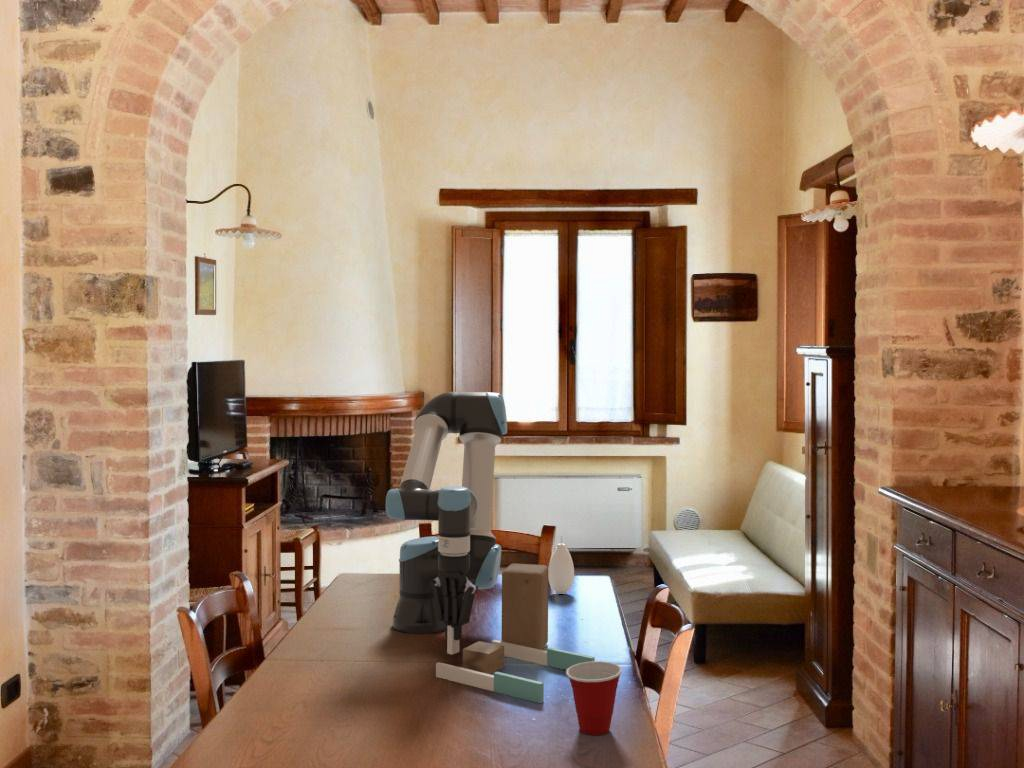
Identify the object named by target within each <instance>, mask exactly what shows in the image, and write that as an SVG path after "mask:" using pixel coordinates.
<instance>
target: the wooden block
mask: <svg viewBox="0 0 1024 768" xmlns="http://www.w3.org/2000/svg"><path fill="white" fill-rule="evenodd" d="M548 568H549V566H547V565H545V564H533V563H532V564H531V563H527V564H526V563H515V562H514V563H510V564H509V565H507V567H506V568H505V569H504V570H503V571H502V573H501V632H500V634H501V639H500V641H502V642H507V643H512V644H516V645H521V646H526V647H530V648H535V649H539V650H544V648H545V647H546V646H547V643H548V642H549V579H548V570H549V569H548Z"/></svg>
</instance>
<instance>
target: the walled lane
mask: <svg viewBox="0 0 1024 768" xmlns="http://www.w3.org/2000/svg"><path fill="white" fill-rule="evenodd" d="M491 644H496V645H502V646H504V657H507V658H512V659H515V660H519V661H520V660H521V661H525V662H528V663H532V662H533V663H532V664H538V665H541V666H546V667H550V666H551V668H554V667H555V669H559V668H560V670H563V669H565V670H564V671H566V670H567V669H568V668H569V667H571V666H573V665H576V664H579V663H584V662H593V661H596V660H595V656H592V655H586V654H581V653H579V652H578V653H577V652H572V651H568V650H563V649H558V648H554V647H547V649H546V650H544V649H543V650H539V649H535V648H530V647H526V646H521V645H516V644H512V643H507V642H502V641H501V640H497V639H493V640H491ZM435 677H436V678H439V679H443V680H446V679H447V680H446V681H451V682H455V683H459V684H462V685H467V686H471V687H474V688H479V689H482V690H485V691H486V690H487V691H491V692H494V693H498V694H501V695H502V694H503V695H507V696H510V697H514V698H518V699H522V700H526V701H530V702H534V703H537V704H541V703H544V699H545V698H544V695H545V694H544V692H545V690H544V687H545V686H544V685H545V683H544V682H543V681H542V682H541V681H538V680H534V679H529V678H525V677H521V676H517V675H514V674H508V673H506V672H505V673H504V672H501V671H495V672H493V674H486V673H482V672H478V671H474V670H470V669H465V668H463V667H461V666H456V665H452V664H448V663H444V662H439V661H438V662H436V663H435Z"/></svg>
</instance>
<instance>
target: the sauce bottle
mask: <svg viewBox="0 0 1024 768" xmlns="http://www.w3.org/2000/svg"><path fill="white" fill-rule="evenodd" d="M571 555H572V554H571V553H570V552H569V549H568V548H567V545H566V544H565V543H563V536H562V535H561V536H560V543H557V544H556V548H555V549H554V550H553V552H552V555H551V557H550V560H549V563H548V569H549V570H548V584H549V585H550V588H551V590H552V591H553V592H554V593H555V594H557V595H558V594H564V595H565V594H568V592H569V591H570V590H571V589H572V587H573V584H574V581H575V567H574V562H573V558H572V556H571Z"/></svg>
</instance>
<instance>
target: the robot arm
mask: <svg viewBox="0 0 1024 768" xmlns="http://www.w3.org/2000/svg"><path fill="white" fill-rule="evenodd" d="M507 418H508V417H507V409H506V405H505V400H504V397H503V395H502V394H501V393H499V392H490V391H489V392H488V391H485V392H483V391H478V392H477V391H447V392H443V393H440V394H437V395H436V396H434V397H433V398H431V399H430V400H429V401H428V402H426V403H425V404H424V405H423V406H422V408H421V409H420V410H419V412H418V413H417V415H416V417H415V419H414V423H413V432H414V437H413V439H412V443H411V447H410V450H409V453H408V457H407V459H406V464H405V466H404V471H403V473H402V477H401V481H400V484H399V488H397V487H396V488H390V489H389V490H388V491H387V492H386V496H385V512H386V516H387V517H388V518H389V519H391V520H392V519H393V520H402V521H433V522H434V521H436V522H437V521H438V522H437V523H438V530H437V531H438V535H436V536H433V535H432V536H424V537H423V536H422V537H418V538H413V539H410V540H409V539H408V540H407V541H405V542H404V543H402V544H401V546H400V547H399V558H398V563H399V596H398V597H399V598H398V600H397V601H398V602H397V603H396V606H395V607H396V608H395V610H394V614H393V616H392V628H393V629H394V630H396V631H400V632H401V633H402V632H403V633H409V634H431V633H437V632H441V630H442V631H445V633H444V636H445V638H446V640H447V641H446V643H447V646H446V648H447V649H446V654H447V655H448V654H449V655H455V654H457V653H460V640H461V639H462V636H463V635H462V633H463V632H462V629H463V628H462V627H463V626H464V625H466V624H469V622H470V619H471V614H472V609H473V603H474V600H475V595H476V593H477V591H478V590H482V589H484V590H488V589H489V590H490V589H491V588H493V587H494V586H495V585H496V582H497V579H498V576H499V573H500V568H501V567H500V566H501V561H502V546H501V545H500V544H498V543H497V538H496V536H495V535H494V534H493V533H492V515H493V496H494V495H493V494H494V478H495V475H494V474H495V457H496V456H495V455H496V446H498V444H500V443H501V441H502V436H504V435H507V433H508V419H507ZM448 434H459V437H458V438H459V441H460V442H461V443H462V444H463V445H464V446H463V461H462V462H463V463H462V476H461V486H459V485H458V486H457V485H456V486H455V485H454V486H444V487H441V488H440V489H431V485H432V482H433V477H434V474H435V469H436V466H437V463H438V458H439V454H440V450H441V446H442V442H443V441H444V440H445V439H446V437H447V436H448Z"/></svg>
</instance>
